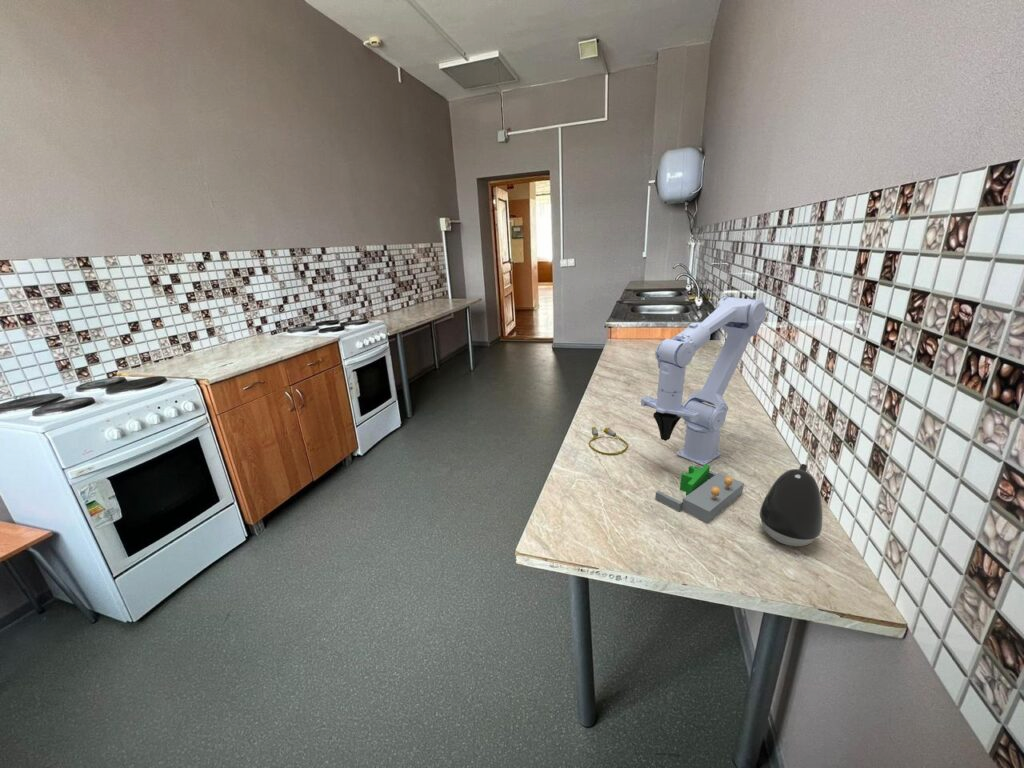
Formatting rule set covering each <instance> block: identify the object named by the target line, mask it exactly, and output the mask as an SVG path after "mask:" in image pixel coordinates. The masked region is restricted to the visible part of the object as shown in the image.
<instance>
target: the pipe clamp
mask: <svg viewBox="0 0 1024 768" xmlns="http://www.w3.org/2000/svg"><path fill="white" fill-rule="evenodd" d="M701 467H702V468H701V469H699V468H696V467H695V466H693V465H689V466H688V470H687V473H686V472H682V473H681V475H680V485H679V490H680V491H683V492H685V497H686V496H687V495H688V494H690V493H691V492H693V491H694V490H695V489H697V488H698V487H700V486H701V485H702V484H704V483H705V482H706V481H708V477H709V470H710V468H711V465H709V464H708V463H707V464H705V465H702V466H701ZM710 471H711V470H710Z"/></svg>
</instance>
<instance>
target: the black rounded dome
mask: <svg viewBox="0 0 1024 768" xmlns="http://www.w3.org/2000/svg"><path fill="white" fill-rule="evenodd" d="M807 470H808V465H807V464H805V463H801V464H800V466H799V468H791V469H788V470H786V471H784V472H783V473H782V474H781V475H779V476H778V477H777V479H776V480H774V483H773V484H772V485H771V487H770V488H769V490H768V491H767V494H766V495H765V497H764V499H763V501H762V504H761V507H760V509H759V518H760V521H761V524H762V527H763V529H764V531H765V532H766V533H767V534H768V535H769V537H771V538H772V539H773V540H775V541H776V542H779V543H781V544H783V545H785V546H789V547H790V546H791V547H804V546H807V545H809V544H811V543H812V542H813V541H815V540H816V538H818V537H820V535H821V533H822V530H823V529H822V528H823V521H824V520H823V519H824V518H823V517H824V516H823V515H824V514H823V502H822V495H821V491H820V487H819V485H818V483H817V481H816V479H815V478H814V476H813V475H812V474H811V473H810V472H808V471H807Z"/></svg>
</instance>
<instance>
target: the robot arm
mask: <svg viewBox="0 0 1024 768" xmlns="http://www.w3.org/2000/svg"><path fill="white" fill-rule="evenodd" d="M765 317H766V304H765V301H763V300H762V299H753V298H752V299H751V298H741V297H732V296H724V297H722V298H721V300H718V301H717V304H716V307H715V309H714V310H713V311H712V312H711V313H710V314H709V315H708V316H707V317H705V318H704V319H703V320H702V321H701V322H691V323H690V324H689V325H688V326H687V327H686V328H684V329H683V330H682V331H681V332H679V333H678V334H677V335H674V337H672V338H666V339H664V340H662V341H661V342H659V344H658V346H657V348H656V351H655V359H656V360H657V367H658V369H659V372H658V373H659V375H658V383H657V394H656V395H657V396H656V398H652V397H648V396H644V397H642V398H641V399H640V406H642V407H648V408H650V409H651V408H652V409H653V410H654V409H655V412H654V413H653V415H652V416H653V418H654V419H655V422H656V424H657V426H658V431H659V435H660V440H662V441H664V442H667V441H668V440H670V439H671V437H672V434H673V431H674V429H675V428H676V425H677V424H678V422H679V421H680V420H681V419H682V420H684V425H686V427H685V435H684V443H683V444H684V445H683V449H681V450H679V451H677V452H676V456H679V457H681V458H683V459H686V460H689V461H691V462H692V463H693V462H694V463H696V464H697V465H698V464H699V465H701V466H704V465H705V464H707V465H708V464H709V463H710V462H711V461H713V460H714V459H717V457H718V456H721V454H722V453H721V451H718V450H719V444H720V438H721V430H720V429H722V427H724V423H726V422H725V421H726V418H727V413H728V411H729V406H728V404H727V403H726V401H725V399H724V397H723V396H724V394H725V391H726V390H727V388H728V386H729V384H730V381H731V380H732V377H733V375H734V373H735V372H736V369H737V368H738V365H739V363H740V361H741V359H742V357H743V355H744V353H745V351H746V349H747V347H748V345H749V343H750V340H751V338H752V337H754V336H757V334H758V332H759V329H760V328H761V325H762V324H763V322H764V320H765ZM721 328H722V331H724V332H726V334H727V336H726V340H725V341H724V343H723V346H722V347H721V350H720V352H719V354H718V356H717V358H716V360H715V362H714V364H713V365H712V368H711V371H710V373H709V374H708V376H707V379H706V381H705V383H704V385H703V387H702V388H701V389H699V390H696V391H693V392H691V393H690V394H689V397H688V398H687V400H686V401H685V402H684V403H683V404H682V402H683V394H684V386H685V379H686V378H685V376H686V367H687V366H689V365H690V363H691V362H692V360H693V358H694V356H695V355H696V353H697V351H699V349H701V348H702V347H703V346H704V345H706V344H707V343H708V342H709V341H710V339H711V335H712V334H713V333H715V332H716V331H718V330H719V329H721Z"/></svg>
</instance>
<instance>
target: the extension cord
mask: <svg viewBox="0 0 1024 768" xmlns="http://www.w3.org/2000/svg"><path fill="white" fill-rule="evenodd" d="M604 432H605V433H604ZM591 433H592V435H593V437H592V438H591V439H592V440H591V439H590V440H589V441H588V445H589V447H590V448H591V450H593V451H594V452H595V451H596V453H597V452H598V454H600V453H601V454H602V455H607V456H618V455H622V454H623V453H625V452H626V451H627V450H628V449H627V448H629V447H628V446H629V443H628V442H627V441H626V440H625V439H623V438H622V437H620V436H618V435H617V433H616V432H615V431H613V430H612V429H611V428H610V427H605V428H604V430H603V433H604V434H606V435H609V436H602V435H601V436H599V431H598V429H597V427H596V426H592V427H591ZM604 437H606V439H613V438H614V439H615V440H618V439H619V440H618V441H622V442H623V441H624V442H623V443H625V444H626V446H625V448H624V449H622V450H619V451H615V452H604V451H601V450H599V449H596V448H594V447H593V445H592V444H591V442H593V441H594V440H597V439H600V438H601V439H602V438H604ZM614 439H613V440H614Z"/></svg>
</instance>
